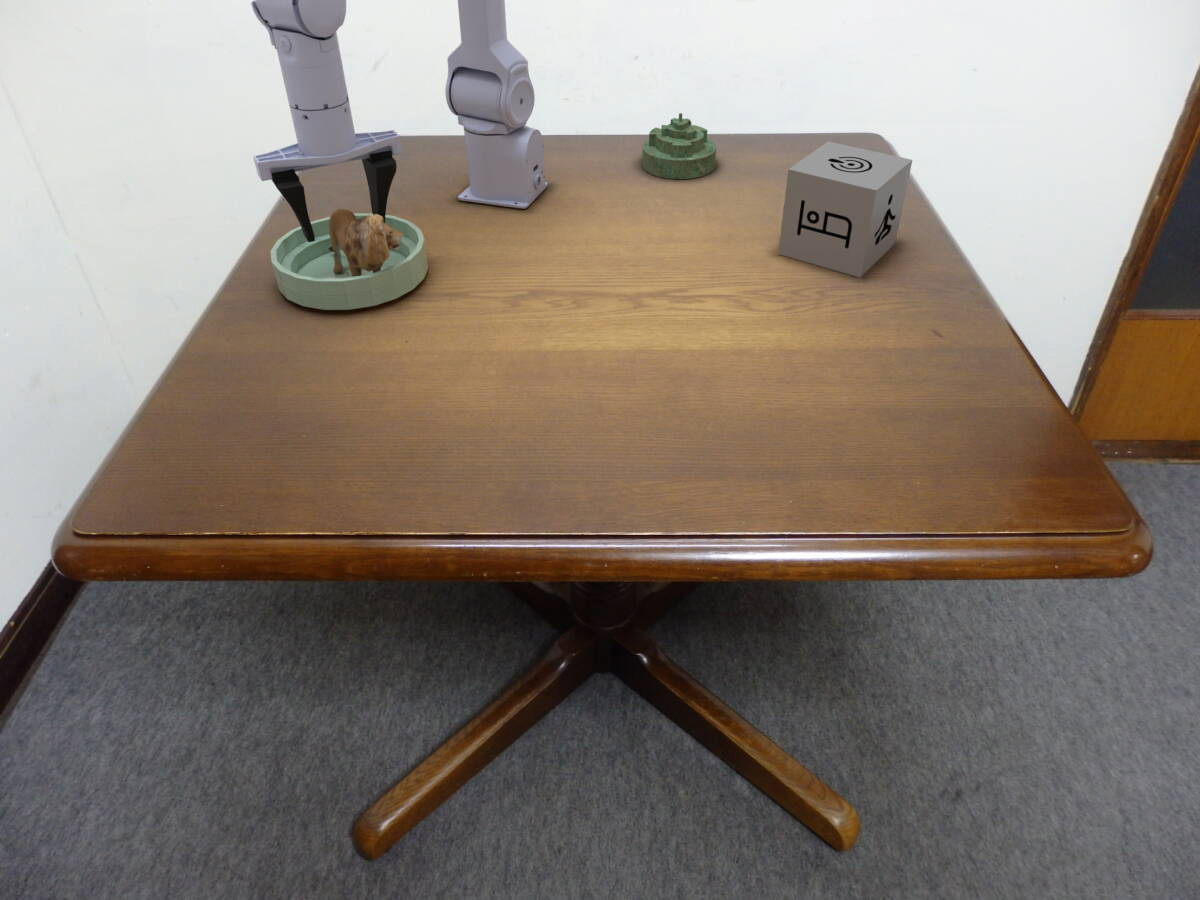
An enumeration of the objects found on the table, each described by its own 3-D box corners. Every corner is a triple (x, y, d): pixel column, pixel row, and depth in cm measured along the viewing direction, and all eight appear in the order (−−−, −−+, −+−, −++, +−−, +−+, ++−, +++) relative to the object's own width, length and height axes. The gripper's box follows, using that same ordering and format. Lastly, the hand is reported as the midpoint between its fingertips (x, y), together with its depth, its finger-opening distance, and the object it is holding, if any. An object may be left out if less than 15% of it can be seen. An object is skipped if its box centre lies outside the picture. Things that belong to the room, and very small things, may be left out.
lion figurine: (417, 294, 97) (405, 214, 91) (373, 311, 94) (357, 230, 89) (350, 247, 106) (335, 172, 100) (308, 261, 103) (290, 185, 97)
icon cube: (778, 253, 104) (788, 169, 98) (816, 222, 111) (828, 141, 104) (860, 277, 100) (876, 190, 94) (895, 243, 106) (912, 159, 100)
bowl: (452, 255, 105) (448, 223, 103) (383, 325, 93) (376, 290, 91) (330, 237, 109) (323, 205, 107) (249, 301, 97) (239, 267, 95)
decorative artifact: (641, 179, 122) (716, 179, 121) (642, 126, 117) (720, 126, 117) (642, 151, 130) (712, 151, 129) (643, 101, 125) (716, 101, 125)
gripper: (378, 78, 95) (398, 202, 103) (235, 101, 89) (268, 230, 98) (400, 97, 90) (419, 226, 98) (250, 123, 84) (283, 257, 93)
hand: (345, 230), depth 98 cm, fingers open, 7 cm apart
